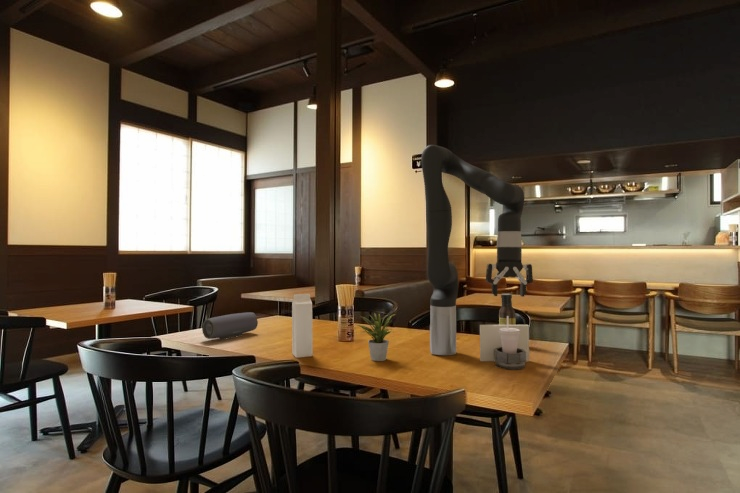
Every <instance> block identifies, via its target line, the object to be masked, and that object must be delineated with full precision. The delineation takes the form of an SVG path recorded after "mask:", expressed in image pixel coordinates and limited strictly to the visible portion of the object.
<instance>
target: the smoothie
mask: <svg viewBox="0 0 740 493" xmlns="http://www.w3.org/2000/svg"><path fill="white" fill-rule="evenodd" d="M499 332H500V335H501V343H502V350H503V352H504V353H517V345H518V337H519V333H520V330H519V329H515V328H509V316H507V328H500V329H499Z"/></svg>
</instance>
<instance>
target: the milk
mask: <svg viewBox="0 0 740 493" xmlns="http://www.w3.org/2000/svg"><path fill="white" fill-rule="evenodd" d="M291 304H292V305H291V316H292V317H291V327H292V328H291V329H292V330H291V333H292V334H291V335H292V336H291V339H292V340H291V342H292V343H291V344H292V347H291V348H292V352H291V353H292V355H293V356H294V357H295V359H297V358H298V359H299V358H306V357H307V358H308V357H313V354H314V352H313V348H314V347H313V302H312V299H311V293H297V294H296V293H295V294H293V300H292V301H291Z"/></svg>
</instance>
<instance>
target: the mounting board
mask: <svg viewBox="0 0 740 493" xmlns="http://www.w3.org/2000/svg"><path fill="white" fill-rule="evenodd" d="M500 328H507V325H499V324H479V362H495V359H494V349H495V348H498V347H502V343H501V335H500V332H499V329H500ZM509 328H515V329H519V330H520V333H519V337H518V345H517V348H520V349H523V350H524V351H526V362H530V325H529V324H516V325H509Z"/></svg>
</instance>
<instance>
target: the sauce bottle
mask: <svg viewBox="0 0 740 493" xmlns="http://www.w3.org/2000/svg"><path fill="white" fill-rule="evenodd" d="M512 297H513V296H512V293H501V294H500V298H501V307H500V308H499V310H498V311H499V312H498V319H499V320H498V322H499V323H498V325H507V316H509V325H517V324H516V323H517V322H516V321H517V320H516V311H515V308H513V303H512Z"/></svg>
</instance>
